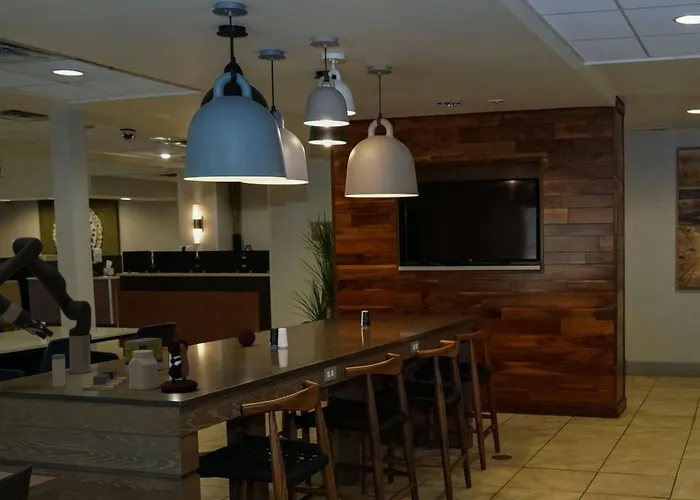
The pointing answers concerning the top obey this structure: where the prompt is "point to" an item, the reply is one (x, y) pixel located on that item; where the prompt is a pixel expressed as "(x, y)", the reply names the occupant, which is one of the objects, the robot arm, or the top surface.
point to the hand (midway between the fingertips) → (49, 336)
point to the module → (58, 370)
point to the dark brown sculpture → (178, 368)
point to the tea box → (144, 344)
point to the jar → (143, 370)
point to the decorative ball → (246, 337)
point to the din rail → (105, 378)
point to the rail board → (107, 387)
